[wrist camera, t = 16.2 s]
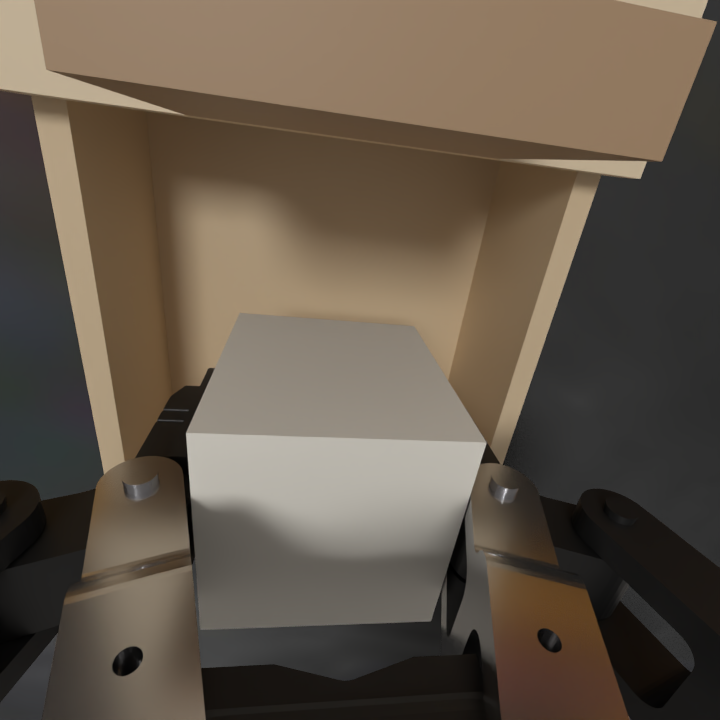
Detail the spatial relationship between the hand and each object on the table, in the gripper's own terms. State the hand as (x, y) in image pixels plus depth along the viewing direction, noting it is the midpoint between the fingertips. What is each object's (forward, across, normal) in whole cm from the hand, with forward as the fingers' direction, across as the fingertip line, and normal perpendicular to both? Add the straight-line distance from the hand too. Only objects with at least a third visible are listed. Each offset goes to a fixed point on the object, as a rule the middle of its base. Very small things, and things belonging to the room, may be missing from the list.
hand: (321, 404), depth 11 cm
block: (0, 0, 0) cm, 0 cm away
